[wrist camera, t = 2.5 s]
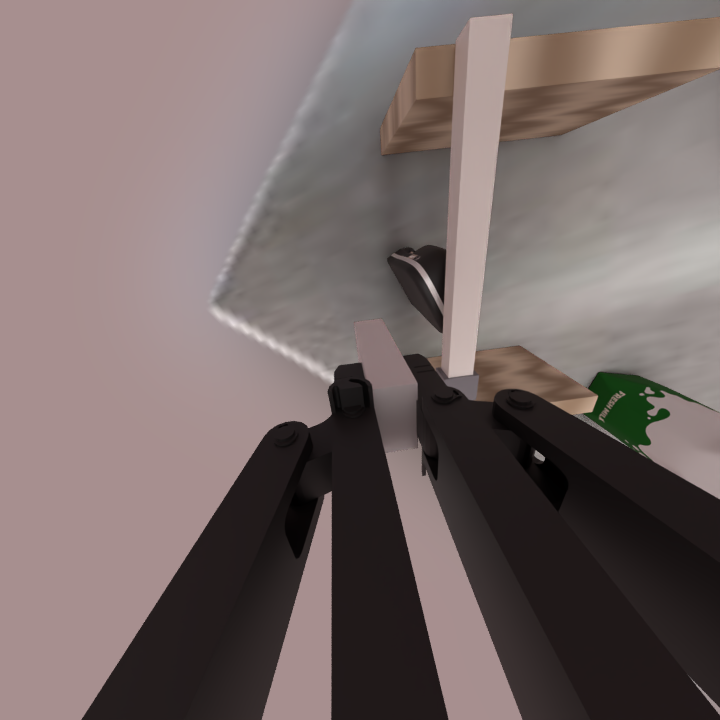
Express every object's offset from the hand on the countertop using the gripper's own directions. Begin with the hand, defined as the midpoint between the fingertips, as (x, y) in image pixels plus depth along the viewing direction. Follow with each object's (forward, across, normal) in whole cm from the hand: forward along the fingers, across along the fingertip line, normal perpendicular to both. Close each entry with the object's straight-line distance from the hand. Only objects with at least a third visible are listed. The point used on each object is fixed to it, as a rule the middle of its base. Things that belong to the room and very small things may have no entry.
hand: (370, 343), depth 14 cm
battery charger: (+18, +8, 0) cm, 20 cm away
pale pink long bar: (+6, +7, 0) cm, 9 cm away
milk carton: (+18, +38, -22) cm, 48 cm away
